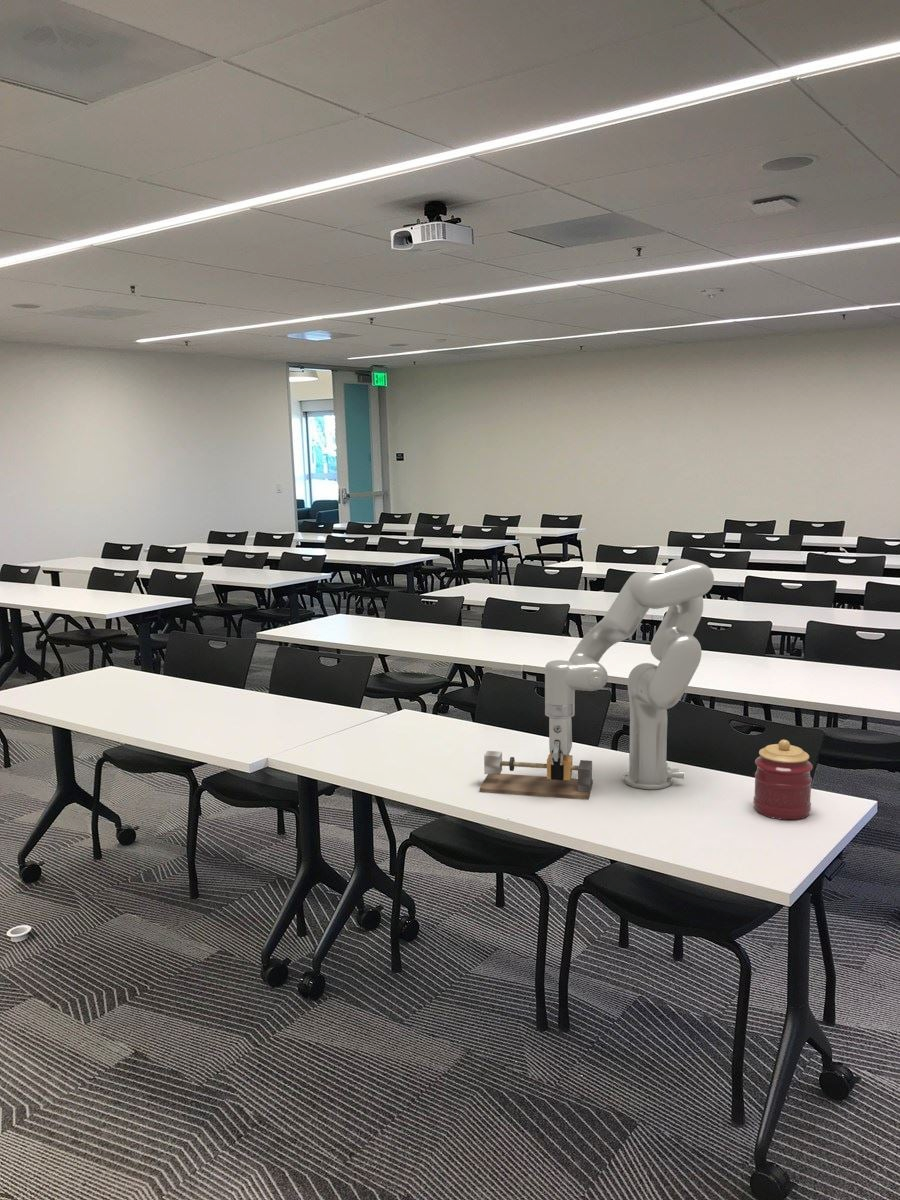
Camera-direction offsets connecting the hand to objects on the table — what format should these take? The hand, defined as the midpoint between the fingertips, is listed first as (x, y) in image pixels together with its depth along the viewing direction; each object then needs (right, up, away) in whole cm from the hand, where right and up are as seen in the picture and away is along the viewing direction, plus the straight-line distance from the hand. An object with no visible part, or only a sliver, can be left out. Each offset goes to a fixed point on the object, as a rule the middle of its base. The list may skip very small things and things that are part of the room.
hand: (559, 773), depth 233 cm
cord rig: (-6, -4, +2) cm, 7 cm away
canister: (+52, -6, -16) cm, 54 cm away
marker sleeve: (0, -1, 0) cm, 1 cm away
